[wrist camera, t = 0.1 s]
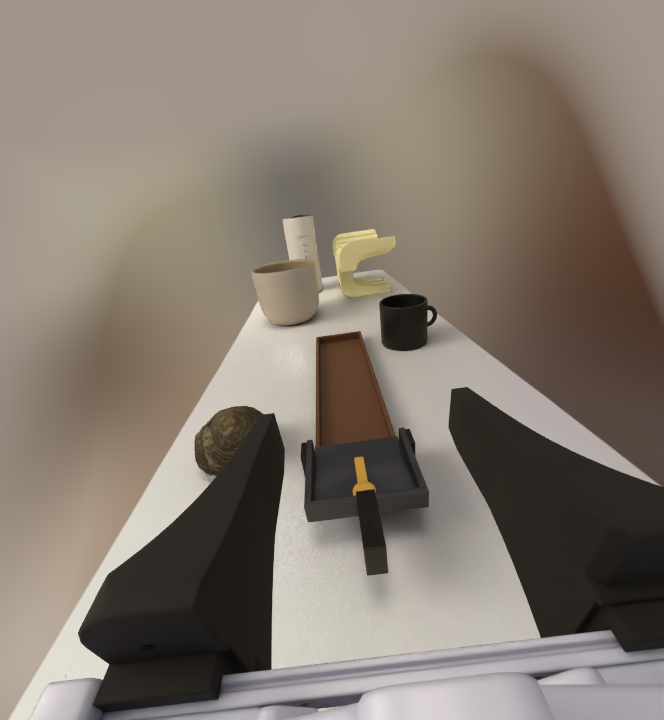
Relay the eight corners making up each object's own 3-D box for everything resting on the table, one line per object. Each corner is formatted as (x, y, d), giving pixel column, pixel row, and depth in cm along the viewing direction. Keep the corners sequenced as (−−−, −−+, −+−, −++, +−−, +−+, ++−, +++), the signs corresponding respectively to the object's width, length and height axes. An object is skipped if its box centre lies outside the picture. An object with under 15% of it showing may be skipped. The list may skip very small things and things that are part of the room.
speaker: (321, 286, 122) (310, 212, 110) (325, 292, 113) (313, 213, 101) (294, 290, 121) (280, 217, 109) (296, 297, 112) (281, 218, 100)
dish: (450, 570, 23) (452, 538, 22) (307, 588, 24) (298, 558, 22) (402, 439, 36) (401, 413, 35) (310, 451, 37) (305, 425, 35)
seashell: (161, 472, 32) (257, 452, 33) (170, 373, 38) (251, 358, 39) (206, 488, 42) (280, 473, 42) (208, 408, 48) (272, 395, 48)
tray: (402, 467, 36) (402, 455, 36) (318, 478, 37) (315, 466, 36) (361, 338, 71) (360, 331, 70) (317, 344, 72) (316, 337, 71)
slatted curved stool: (337, 284, 122) (331, 235, 114) (378, 278, 121) (374, 228, 114) (345, 306, 95) (338, 244, 87) (397, 298, 95) (395, 236, 87)
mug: (447, 343, 63) (448, 300, 59) (390, 354, 62) (388, 311, 58) (426, 327, 72) (426, 289, 68) (376, 337, 71) (373, 298, 67)
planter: (306, 331, 80) (295, 271, 73) (252, 330, 86) (237, 274, 80) (331, 309, 93) (324, 257, 87) (283, 309, 100) (272, 261, 93)
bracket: (415, 470, 36) (415, 442, 34) (307, 484, 36) (300, 457, 34) (410, 455, 38) (409, 428, 36) (307, 469, 38) (301, 442, 36)
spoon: (378, 501, 29) (377, 498, 29) (354, 504, 29) (353, 502, 29) (369, 458, 34) (368, 455, 34) (348, 461, 34) (348, 458, 34)
